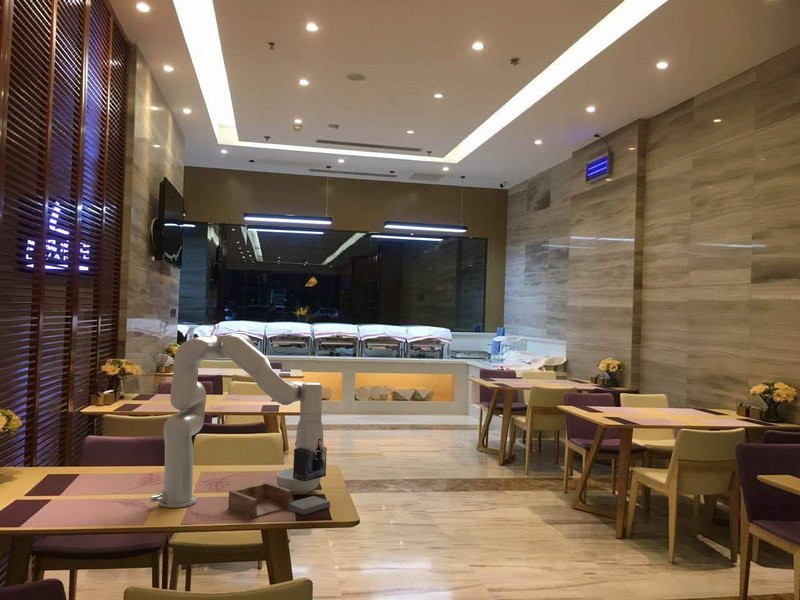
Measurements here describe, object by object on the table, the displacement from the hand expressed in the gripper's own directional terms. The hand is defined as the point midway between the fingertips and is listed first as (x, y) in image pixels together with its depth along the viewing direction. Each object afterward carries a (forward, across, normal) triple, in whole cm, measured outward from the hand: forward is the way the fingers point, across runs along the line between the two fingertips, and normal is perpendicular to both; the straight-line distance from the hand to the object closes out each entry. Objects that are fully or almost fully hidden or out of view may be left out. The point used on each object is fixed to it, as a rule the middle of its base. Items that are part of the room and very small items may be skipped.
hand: (309, 468), depth 213 cm
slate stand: (+14, 0, 0) cm, 14 cm away
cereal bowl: (+14, -18, +10) cm, 25 cm away
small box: (+3, 0, 0) cm, 3 cm away
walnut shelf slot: (+14, -11, -12) cm, 21 cm away
